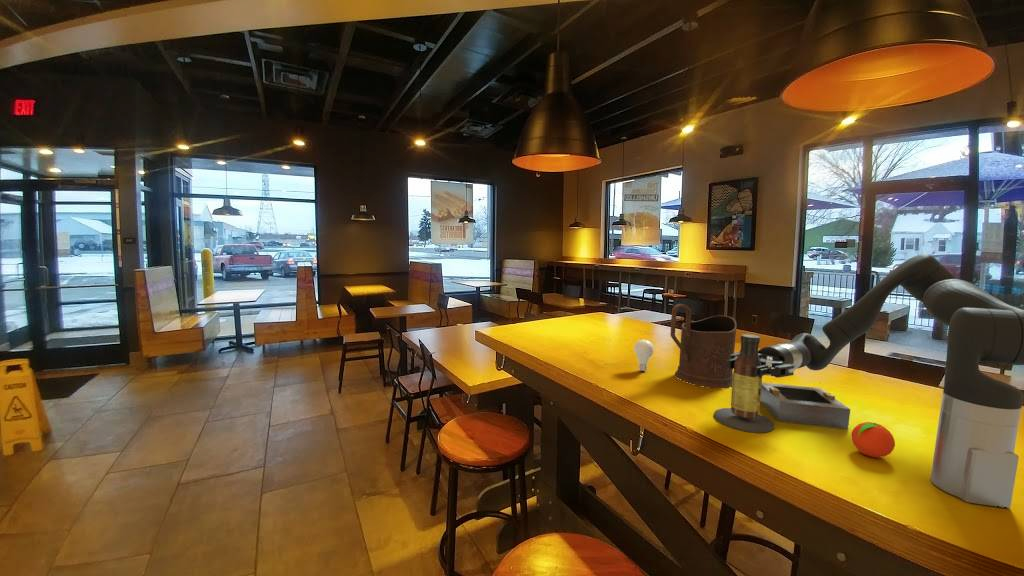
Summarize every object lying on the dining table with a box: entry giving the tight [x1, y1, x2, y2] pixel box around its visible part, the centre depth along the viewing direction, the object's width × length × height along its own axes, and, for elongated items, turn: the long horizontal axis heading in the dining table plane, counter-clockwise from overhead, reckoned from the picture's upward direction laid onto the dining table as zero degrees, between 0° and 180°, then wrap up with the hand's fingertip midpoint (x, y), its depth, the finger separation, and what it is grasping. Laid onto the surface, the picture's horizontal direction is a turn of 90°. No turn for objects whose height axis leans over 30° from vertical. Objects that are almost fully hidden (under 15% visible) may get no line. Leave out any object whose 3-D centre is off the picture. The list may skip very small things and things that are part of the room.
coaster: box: [713, 407, 775, 434], centre depth 102 cm, size 13×13×1 cm
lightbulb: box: [633, 339, 655, 372], centre depth 140 cm, size 6×6×11 cm
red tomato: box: [850, 421, 896, 458], centre depth 86 cm, size 8×7×7 cm
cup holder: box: [670, 303, 738, 389], centre depth 132 cm, size 18×24×25 cm
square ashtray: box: [760, 382, 851, 430], centre depth 108 cm, size 15×15×6 cm
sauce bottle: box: [730, 333, 763, 419], centre depth 101 cm, size 6×6×20 cm
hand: (742, 368), depth 100 cm, fingers closed on sauce bottle, 6 cm apart
